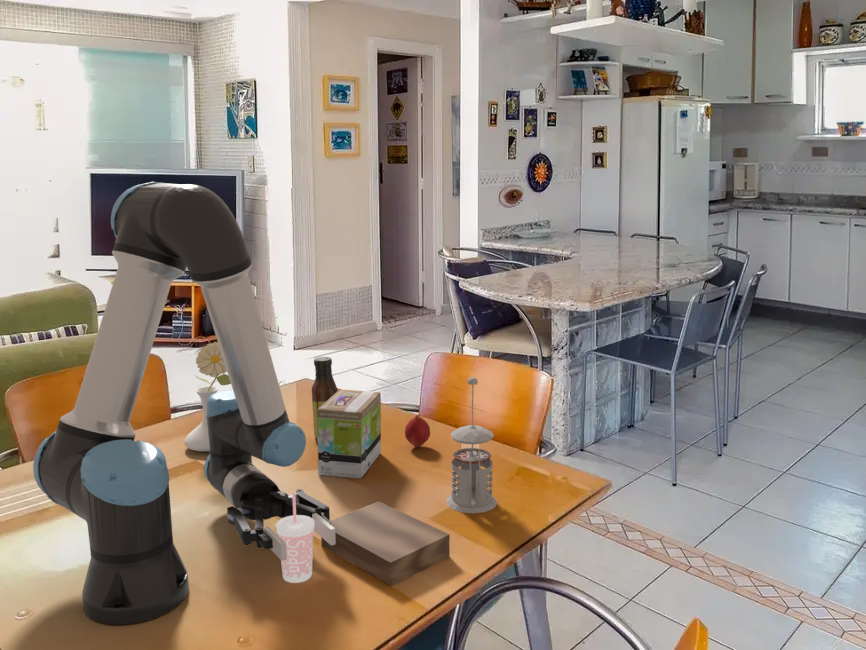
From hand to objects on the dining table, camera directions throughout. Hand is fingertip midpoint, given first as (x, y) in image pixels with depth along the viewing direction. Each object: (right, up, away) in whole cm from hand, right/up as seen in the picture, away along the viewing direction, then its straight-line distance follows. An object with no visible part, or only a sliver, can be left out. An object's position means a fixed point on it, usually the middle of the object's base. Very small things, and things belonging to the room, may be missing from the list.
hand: (309, 544), depth 121 cm
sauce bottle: (-6, +6, +64) cm, 65 cm away
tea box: (+1, +3, +50) cm, 51 cm away
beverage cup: (-3, -7, +6) cm, 9 cm away
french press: (+26, -1, +31) cm, 41 cm away
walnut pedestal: (+11, -5, +13) cm, 18 cm away
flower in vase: (-31, +5, +60) cm, 68 cm away
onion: (+15, +5, +60) cm, 62 cm away
